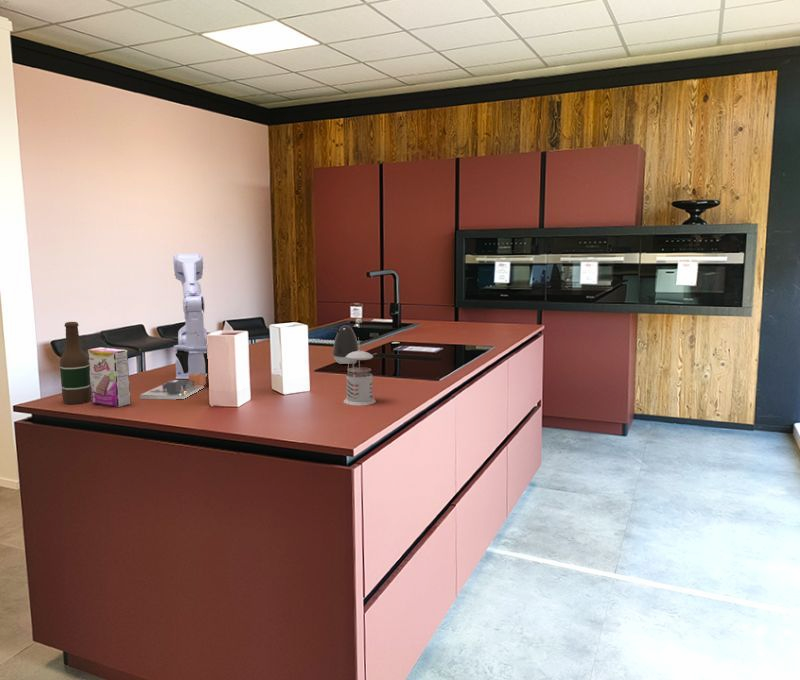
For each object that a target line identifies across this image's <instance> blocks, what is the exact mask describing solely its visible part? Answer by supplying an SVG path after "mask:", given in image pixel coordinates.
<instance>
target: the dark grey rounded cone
mask: <svg viewBox="0 0 800 680" xmlns="http://www.w3.org/2000/svg"><path fill="white" fill-rule="evenodd" d="M331 331H333V332H335V333H336V336H335V339H334V341H333V350H332V355H333V358H334V360H335V362H336V363H338V364H339V365H341V364H348V363H349V364H350V365H353V364H352V363H353V362H354V360H352V363H351V360H350V359H347V358H346V356H347V355H348V354H349V353H351V352H355V351H358V350H359V341H358V340H357V336H356V334H355V332H354V330H353V328H352V327H351V326H349V325H342V326H340V327H339V328H336V327H332V328H331ZM349 360H350V362H349ZM354 363H355V364H356V360H355V362H354Z"/></svg>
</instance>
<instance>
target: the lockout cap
mask: <svg viewBox="0 0 800 680" xmlns="http://www.w3.org/2000/svg"><path fill="white" fill-rule="evenodd" d="M205 374H206V373H205ZM205 374H204V373H193V374H191V375H189V379H188V381H194V385H205V384H206V385H207V383H206V380H207V379H206V378H207V377H205ZM206 385H205V386H206Z"/></svg>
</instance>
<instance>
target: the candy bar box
mask: <svg viewBox="0 0 800 680" xmlns="http://www.w3.org/2000/svg"><path fill="white" fill-rule="evenodd" d="M87 354H88V355H87V357H88V361H89V370H90V384H91V404H94V405H95V404H96V405H102V406H107V407H108V406H109V407H115V408H121V407H124V406H128V405H131V403H132V401H131V399H132V398H131V387H130V372H129V371H130V370H129V358H128V357H129V356H128V355H129V354H128V350H126V349H120V348H112V347H111V348H110V347H101V346H100V347H95V348H89V349H87Z"/></svg>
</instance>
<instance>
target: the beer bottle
mask: <svg viewBox="0 0 800 680" xmlns="http://www.w3.org/2000/svg"><path fill="white" fill-rule="evenodd" d="M64 327H65V347H64V348H65V349H64V350H63V353H61V356H60V359H59V370H60V382H61V384H60V386H61V394H62V395H61V396H62V402H63V403H64V404H67V405H80V404H85V403H88V402H90V401H92V396H91V382H90V370H89V357H88V355H87V353H86V352H85V351H84V350H83V349H82V346H81V340H80V333H79V329H78V328H79V323H78V322H77V321H67V322H65V323H64Z"/></svg>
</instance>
